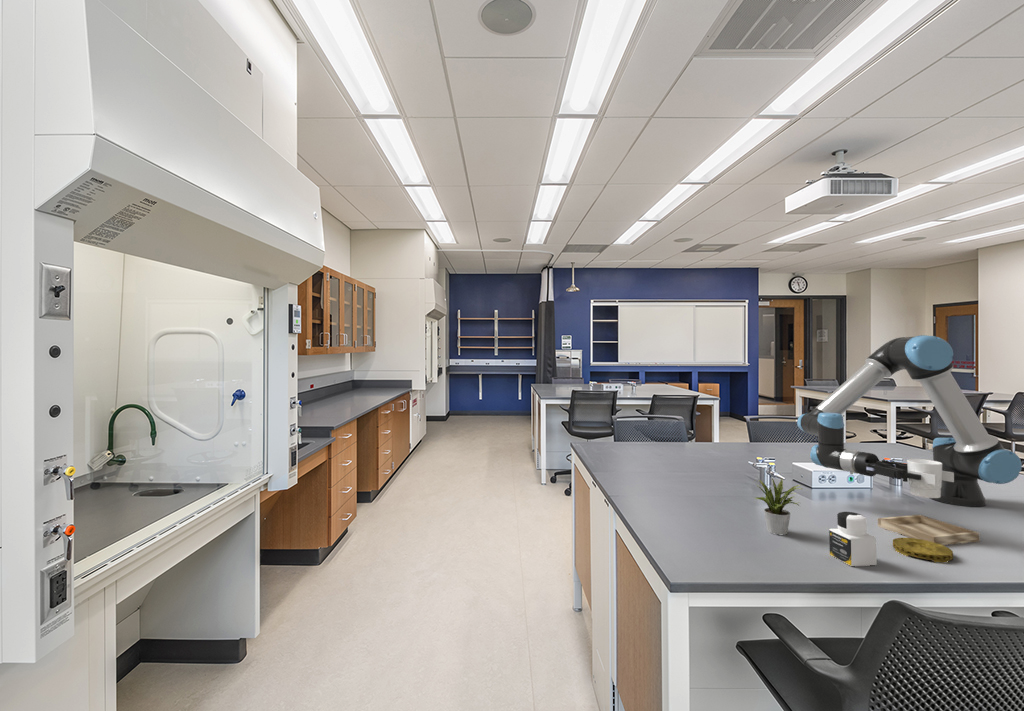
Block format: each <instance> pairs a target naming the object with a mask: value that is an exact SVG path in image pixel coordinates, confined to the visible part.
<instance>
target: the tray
mask: <svg viewBox="0 0 1024 711" xmlns="http://www.w3.org/2000/svg"><path fill="white" fill-rule="evenodd" d="M878 526H879V528H881V529H885V530H888V531H889V532H892V531H893V532H892V533H895V532H897V533H896V534H898V533H899V534H898V535H901V534H902V535H901V536H904V535H905V536H904V537H906V536H907V537H906V538H909V537H910V538H915V539H921V540H926V541H931V542H934V543H938V544H940V545H943V546H949V545H948V544H951V545H958V544H957V543H961V544H968V542H971V543H979V542H980V532H978V531H975V530H972V529H968V528H965V527H961V526H958V525H955V524H952V523H948V522H945V521H942V520H938V519H935V518H932V517H928V516H926V515H922V514H911V515H900V516H890V517H879V518H877V527H878Z"/></svg>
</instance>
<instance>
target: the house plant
mask: <svg viewBox="0 0 1024 711" xmlns="http://www.w3.org/2000/svg"><path fill="white" fill-rule="evenodd" d="M771 479H772V486H773V490H774V491H772V489H771V487H768V486H767V485H766V483H764V482H763V481H762V480H761V479H757V480H758V481H759V482H760V484H761V486H762V487H761V486H760V485H757V484H756V486H757V487H758V488H759V489H760V490H761V491H762V492H763V494H764V495H765V496H764V497H763V496H761V497H760V496H759V497H755V498H754V499H755V500H762V501H763V502H764V503H765V504H766V505H767V507H765V508H763V514H764V519H765V524H766V525H765V526H766V530H768V531H769V532H768V531H767V532H768V533H770V532H771V533H770V534H772V533H775V534H787V535H788V531H789V526H790V525H789V524H790V519H791V512H790V511H788V510H787V509H784V508H785V506H787V505H788V504H793V505H797V506H800V503H798V502H795V501H794V500H793V498H794V496H790V495H794V494H795V495H797V493H796V492H795V491H796V490H803V488H800V486H802V484H799V485H794V486H792V487H790V488H788V490H786V491H783V489H784V486H783V482H784V481H783V478H782V477H781V478H780V481H779V483H778V485H776V483H775V480H774V478H771ZM797 487H798V488H797ZM773 492H774V494H773ZM782 495H783V496H782ZM789 496H790V497H789ZM775 534H774V535H775Z"/></svg>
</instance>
